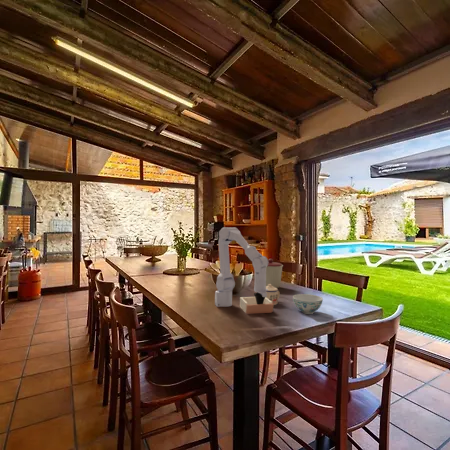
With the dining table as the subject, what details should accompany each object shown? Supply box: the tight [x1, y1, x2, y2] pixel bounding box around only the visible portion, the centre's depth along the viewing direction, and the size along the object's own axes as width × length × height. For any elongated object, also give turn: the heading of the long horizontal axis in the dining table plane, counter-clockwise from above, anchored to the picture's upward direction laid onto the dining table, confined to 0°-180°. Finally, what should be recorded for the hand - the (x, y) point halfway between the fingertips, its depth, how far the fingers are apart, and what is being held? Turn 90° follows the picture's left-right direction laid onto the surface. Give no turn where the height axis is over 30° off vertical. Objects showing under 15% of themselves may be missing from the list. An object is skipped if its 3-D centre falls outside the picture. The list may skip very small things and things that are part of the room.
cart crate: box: [239, 296, 272, 314], centre depth 151 cm, size 14×12×6 cm
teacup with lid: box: [266, 284, 281, 306], centre depth 165 cm, size 12×9×12 cm
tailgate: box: [245, 303, 275, 315], centre depth 144 cm, size 14×1×5 cm, turn 101°
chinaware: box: [292, 293, 324, 315], centre depth 150 cm, size 15×15×8 cm
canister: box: [266, 258, 284, 289], centre depth 210 cm, size 18×18×21 cm
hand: (259, 307), depth 144 cm, fingers closed, pressing on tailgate
